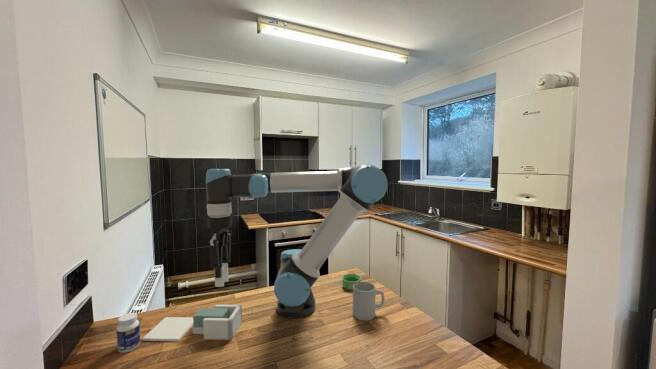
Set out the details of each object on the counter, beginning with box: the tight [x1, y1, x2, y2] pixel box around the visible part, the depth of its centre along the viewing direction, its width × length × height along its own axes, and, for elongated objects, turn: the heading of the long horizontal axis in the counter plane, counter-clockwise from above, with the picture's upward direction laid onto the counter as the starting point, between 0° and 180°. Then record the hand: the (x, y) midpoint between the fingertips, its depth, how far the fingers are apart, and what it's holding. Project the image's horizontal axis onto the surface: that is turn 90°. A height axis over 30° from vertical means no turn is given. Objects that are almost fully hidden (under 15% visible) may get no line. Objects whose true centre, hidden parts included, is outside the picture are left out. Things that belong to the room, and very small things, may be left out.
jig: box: [192, 304, 243, 341], centre depth 92 cm, size 14×10×6 cm
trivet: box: [142, 316, 194, 342], centre depth 92 cm, size 12×12×1 cm
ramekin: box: [341, 273, 362, 291], centre depth 125 cm, size 9×9×4 cm
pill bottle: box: [116, 312, 141, 354], centre depth 83 cm, size 6×6×10 cm
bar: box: [192, 307, 229, 328], centre depth 92 cm, size 10×5×4 cm, turn 89°
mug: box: [352, 281, 385, 322], centre depth 101 cm, size 12×8×11 cm
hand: (221, 283), depth 91 cm, fingers open, 3 cm apart
